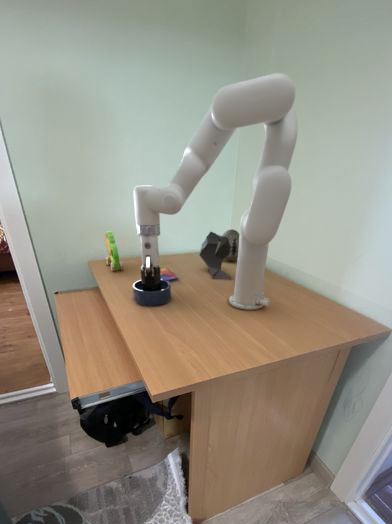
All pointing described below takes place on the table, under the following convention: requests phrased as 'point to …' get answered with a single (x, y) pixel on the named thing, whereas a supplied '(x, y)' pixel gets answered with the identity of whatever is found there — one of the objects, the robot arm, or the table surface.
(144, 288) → the supplement bottle
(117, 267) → the green toy figure
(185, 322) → the table surface
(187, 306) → the table surface
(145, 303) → the bowl
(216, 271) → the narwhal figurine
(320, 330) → the table surface
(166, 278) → the smartphone
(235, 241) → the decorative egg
